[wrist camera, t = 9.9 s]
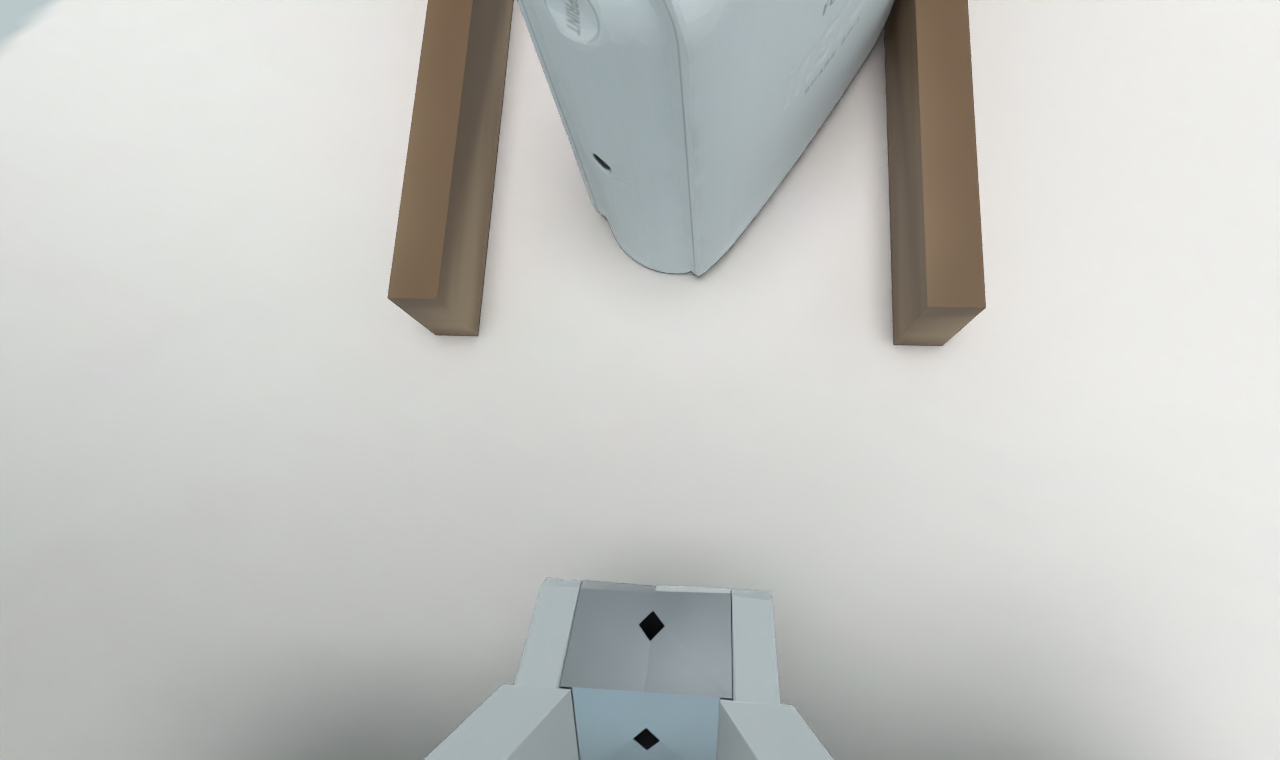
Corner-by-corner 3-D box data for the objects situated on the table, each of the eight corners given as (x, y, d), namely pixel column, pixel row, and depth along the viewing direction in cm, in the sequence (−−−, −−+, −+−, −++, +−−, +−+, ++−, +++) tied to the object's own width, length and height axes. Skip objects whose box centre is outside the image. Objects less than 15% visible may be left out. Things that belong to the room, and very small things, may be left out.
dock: (355, 332, 20) (172, 222, 13) (415, -79, 23) (291, -342, 16) (1037, 347, 18) (1233, 226, 11) (1003, -105, 21) (1141, -415, 14)
